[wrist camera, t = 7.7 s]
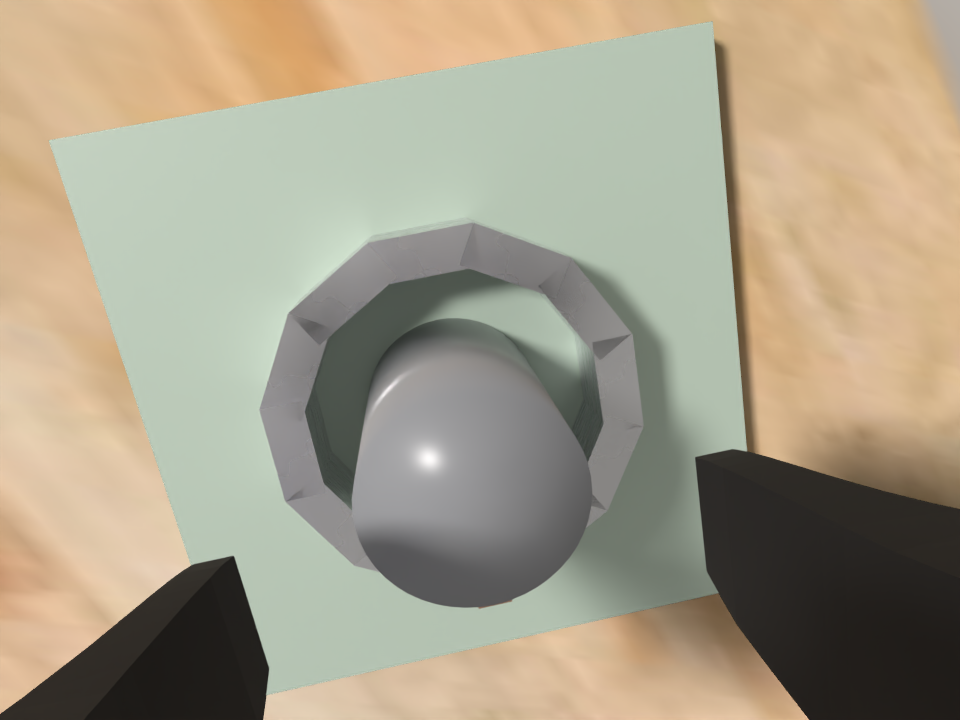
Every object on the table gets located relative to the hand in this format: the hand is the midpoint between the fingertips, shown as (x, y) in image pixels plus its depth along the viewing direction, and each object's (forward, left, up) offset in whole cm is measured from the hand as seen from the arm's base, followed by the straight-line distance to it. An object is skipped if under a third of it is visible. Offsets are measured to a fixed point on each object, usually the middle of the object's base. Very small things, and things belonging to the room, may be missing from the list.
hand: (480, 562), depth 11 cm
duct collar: (0, 0, -9) cm, 9 cm away
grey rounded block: (0, 0, -8) cm, 8 cm away
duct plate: (0, 0, -9) cm, 9 cm away
